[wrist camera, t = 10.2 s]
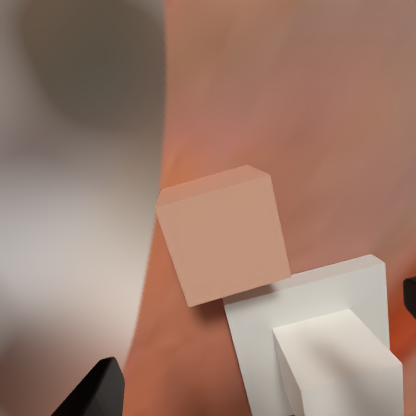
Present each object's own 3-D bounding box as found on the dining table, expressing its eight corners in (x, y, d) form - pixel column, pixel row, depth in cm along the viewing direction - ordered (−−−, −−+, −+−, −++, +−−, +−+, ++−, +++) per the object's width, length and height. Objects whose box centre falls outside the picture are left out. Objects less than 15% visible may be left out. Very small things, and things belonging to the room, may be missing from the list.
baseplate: (371, 254, 21) (385, 262, 19) (379, 372, 24) (391, 387, 22) (220, 293, 20) (223, 305, 19) (250, 407, 24) (254, 425, 22)
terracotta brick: (247, 164, 18) (270, 174, 13) (264, 242, 20) (291, 277, 15) (162, 188, 18) (154, 208, 13) (187, 265, 20) (188, 307, 15)
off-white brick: (349, 308, 20) (402, 363, 15) (355, 370, 22) (404, 437, 17) (272, 328, 20) (300, 390, 15) (283, 388, 21) (313, 462, 17)
